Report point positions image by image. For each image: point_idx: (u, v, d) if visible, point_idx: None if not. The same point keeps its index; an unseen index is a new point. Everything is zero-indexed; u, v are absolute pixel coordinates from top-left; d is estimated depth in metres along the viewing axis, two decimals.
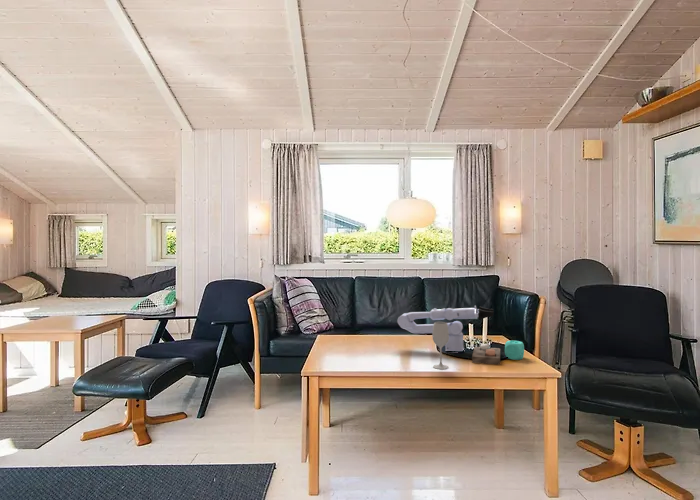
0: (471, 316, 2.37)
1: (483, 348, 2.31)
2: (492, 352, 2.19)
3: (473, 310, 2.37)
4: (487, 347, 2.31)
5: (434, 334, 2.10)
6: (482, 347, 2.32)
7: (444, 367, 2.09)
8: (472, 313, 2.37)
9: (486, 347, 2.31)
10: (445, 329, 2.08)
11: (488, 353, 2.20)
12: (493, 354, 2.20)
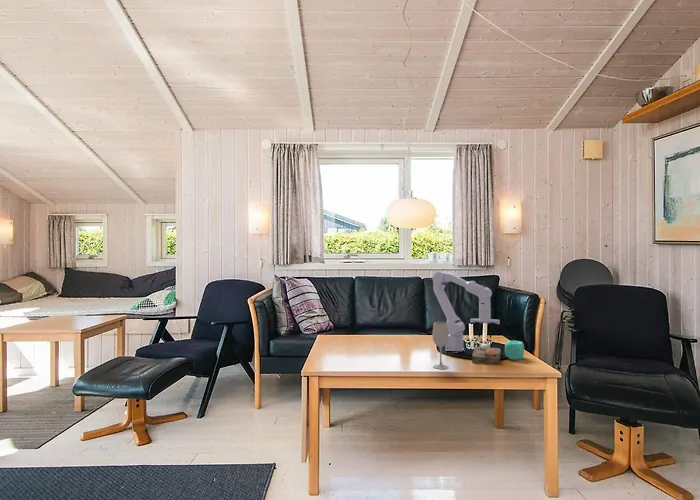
0: None
1: (483, 348, 2.31)
2: (492, 352, 2.19)
3: (480, 318, 2.32)
4: (487, 347, 2.31)
5: (434, 334, 2.10)
6: (482, 347, 2.32)
7: (444, 367, 2.09)
8: (479, 317, 2.33)
9: (486, 347, 2.31)
10: (445, 329, 2.08)
11: (488, 353, 2.20)
12: (493, 354, 2.20)
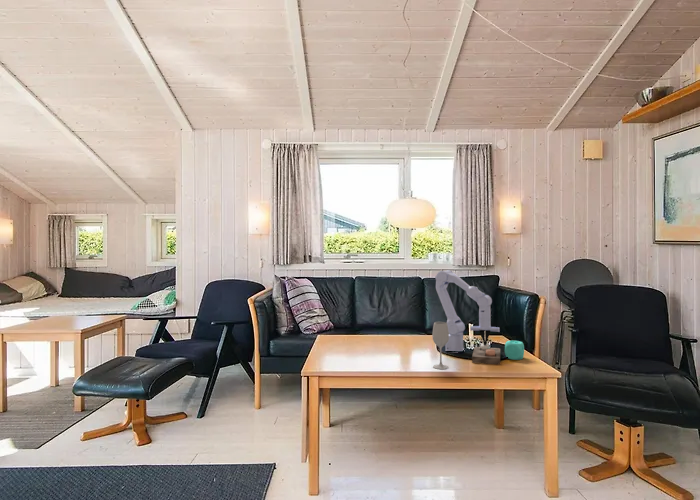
0: None
1: (483, 348, 2.31)
2: (492, 352, 2.19)
3: (480, 326, 2.32)
4: (487, 347, 2.31)
5: (434, 334, 2.10)
6: (482, 347, 2.32)
7: (444, 367, 2.09)
8: (479, 324, 2.33)
9: (486, 347, 2.31)
10: (445, 329, 2.08)
11: (488, 353, 2.20)
12: (493, 354, 2.20)
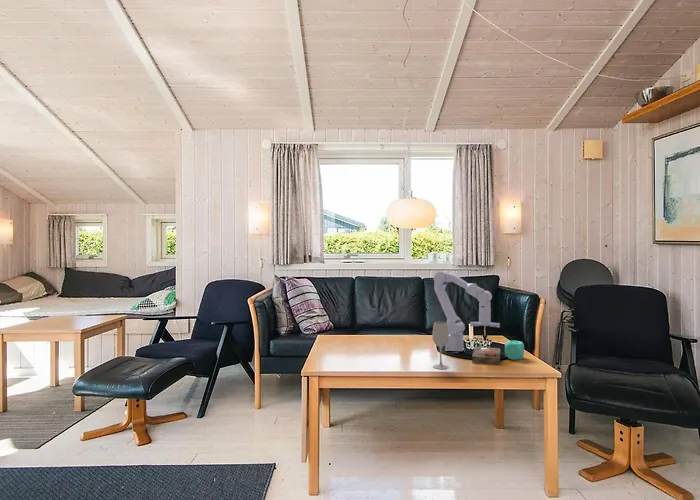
0: None
1: None
2: (492, 352, 2.19)
3: (480, 322, 2.32)
4: None
5: (434, 334, 2.10)
6: None
7: (444, 367, 2.09)
8: (479, 320, 2.33)
9: None
10: (445, 329, 2.08)
11: (488, 353, 2.20)
12: (493, 354, 2.20)
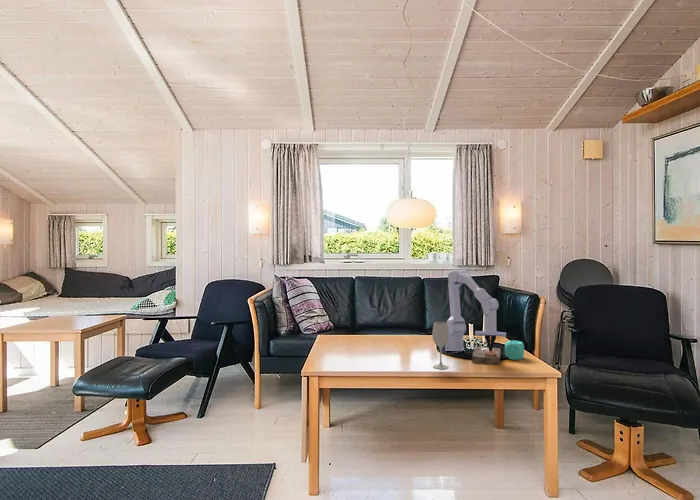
0: None
1: None
2: (492, 353, 2.19)
3: (485, 331, 2.20)
4: None
5: (434, 334, 2.10)
6: None
7: (444, 367, 2.09)
8: (484, 329, 2.22)
9: None
10: (445, 329, 2.08)
11: (488, 354, 2.20)
12: (493, 355, 2.20)
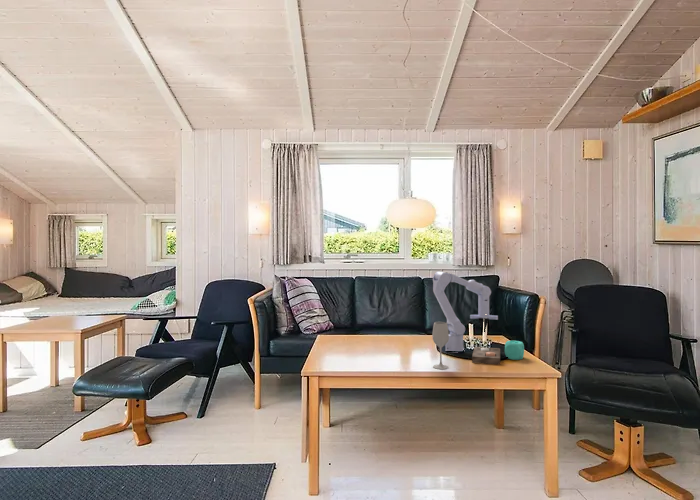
0: None
1: None
2: (492, 355, 2.19)
3: (479, 314, 2.44)
4: None
5: (434, 334, 2.10)
6: None
7: (444, 367, 2.09)
8: (478, 313, 2.46)
9: None
10: (445, 329, 2.08)
11: None
12: None
